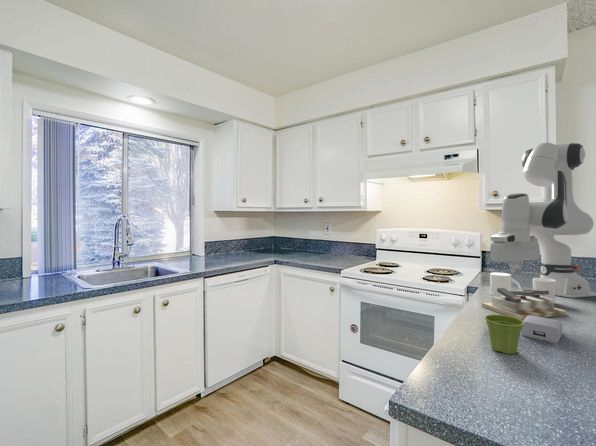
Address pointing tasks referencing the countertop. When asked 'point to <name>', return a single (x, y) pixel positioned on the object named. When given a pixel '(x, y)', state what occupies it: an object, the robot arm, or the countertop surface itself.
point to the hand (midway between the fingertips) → (515, 272)
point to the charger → (542, 328)
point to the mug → (501, 283)
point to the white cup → (545, 286)
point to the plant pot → (504, 332)
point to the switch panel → (520, 316)
